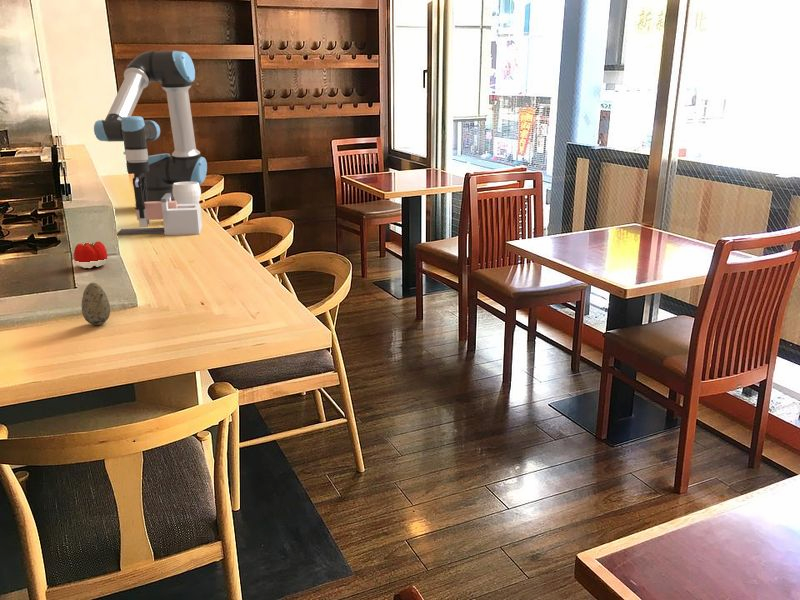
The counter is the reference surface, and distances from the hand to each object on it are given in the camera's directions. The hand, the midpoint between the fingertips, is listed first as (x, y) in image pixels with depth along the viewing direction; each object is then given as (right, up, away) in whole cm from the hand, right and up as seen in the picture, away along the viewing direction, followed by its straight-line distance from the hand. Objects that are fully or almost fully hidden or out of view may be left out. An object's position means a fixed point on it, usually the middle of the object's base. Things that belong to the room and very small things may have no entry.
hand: (144, 225), depth 249 cm
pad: (-1, -2, +2) cm, 3 cm away
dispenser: (+14, -2, +3) cm, 14 cm away
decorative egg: (+24, -33, -92) cm, 101 cm away
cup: (+10, +4, +21) cm, 24 cm away
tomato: (+2, -18, -45) cm, 49 cm away
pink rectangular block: (+5, +3, 0) cm, 6 cm away
